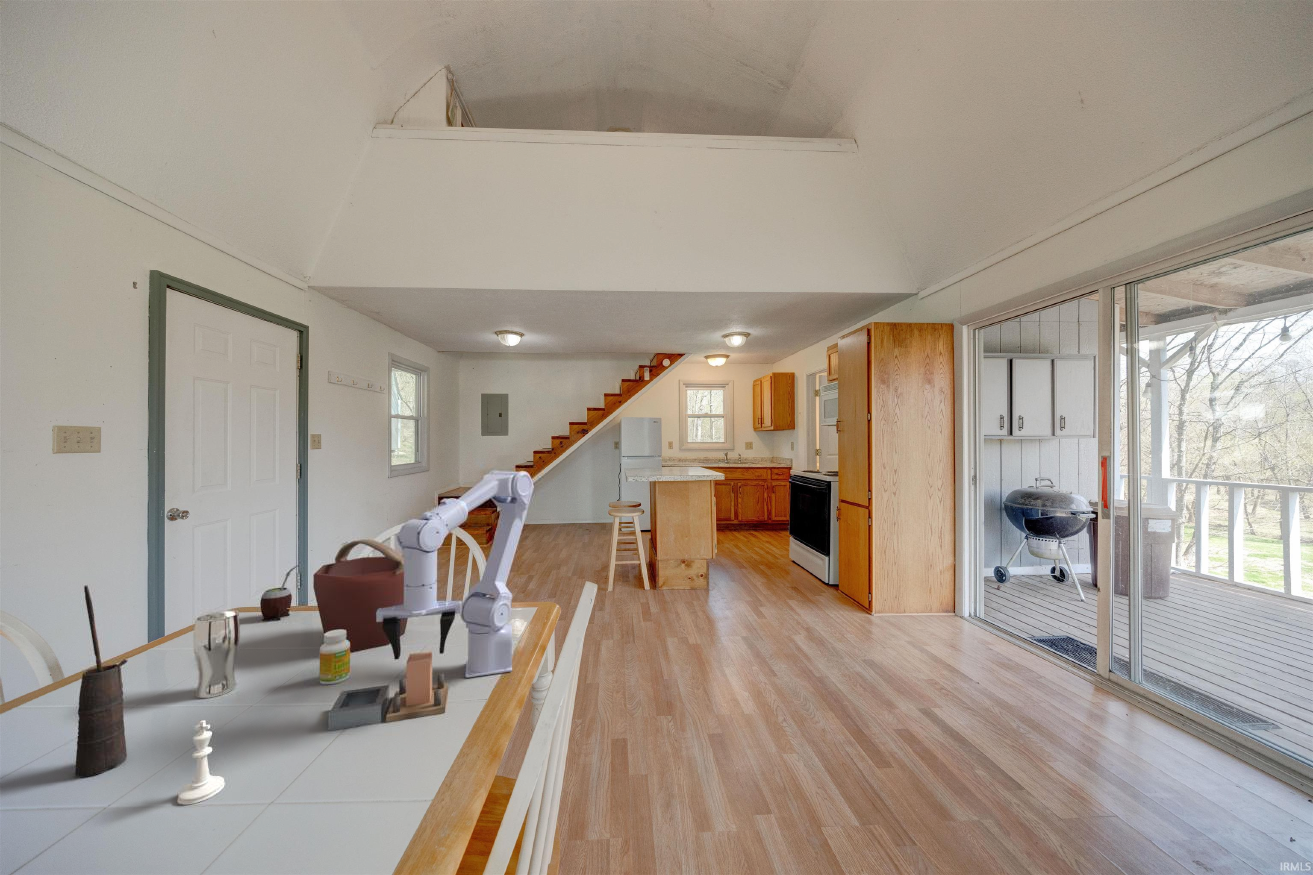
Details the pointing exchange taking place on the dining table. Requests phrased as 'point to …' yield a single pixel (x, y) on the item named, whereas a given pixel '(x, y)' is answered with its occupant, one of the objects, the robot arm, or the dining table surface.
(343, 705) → the socket collar
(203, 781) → the chess piece
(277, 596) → the mate gourd
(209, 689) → the beer glass
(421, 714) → the board
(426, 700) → the pin
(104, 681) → the butter churn
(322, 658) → the supplement bottle
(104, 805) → the dining table surface
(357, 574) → the bucket
